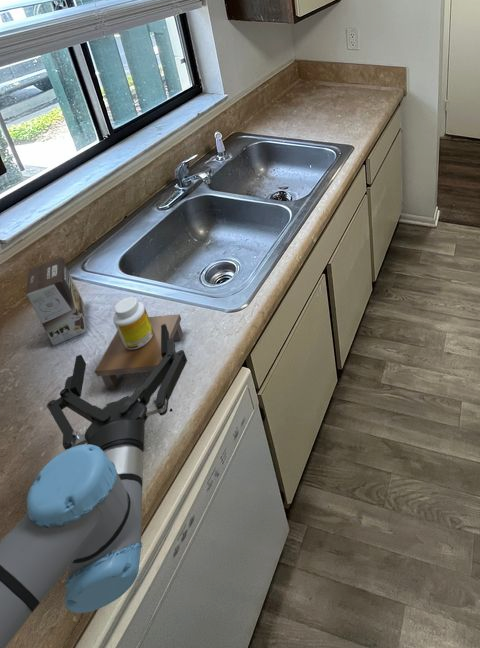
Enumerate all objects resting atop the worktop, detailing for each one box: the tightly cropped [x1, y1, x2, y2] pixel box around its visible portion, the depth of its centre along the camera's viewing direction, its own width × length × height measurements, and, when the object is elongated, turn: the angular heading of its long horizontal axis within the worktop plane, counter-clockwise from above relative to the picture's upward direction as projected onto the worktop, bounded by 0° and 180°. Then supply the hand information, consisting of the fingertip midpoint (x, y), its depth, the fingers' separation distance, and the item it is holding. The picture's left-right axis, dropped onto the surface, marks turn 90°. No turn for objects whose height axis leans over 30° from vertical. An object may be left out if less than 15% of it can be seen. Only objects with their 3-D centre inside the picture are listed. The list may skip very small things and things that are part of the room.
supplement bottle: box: [112, 296, 153, 349], centre depth 90 cm, size 6×6×10 cm
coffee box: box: [25, 256, 86, 346], centre depth 99 cm, size 9×6×16 cm
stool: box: [94, 313, 184, 389], centre depth 93 cm, size 12×12×6 cm
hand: (124, 344), depth 81 cm, fingers open, 13 cm apart
